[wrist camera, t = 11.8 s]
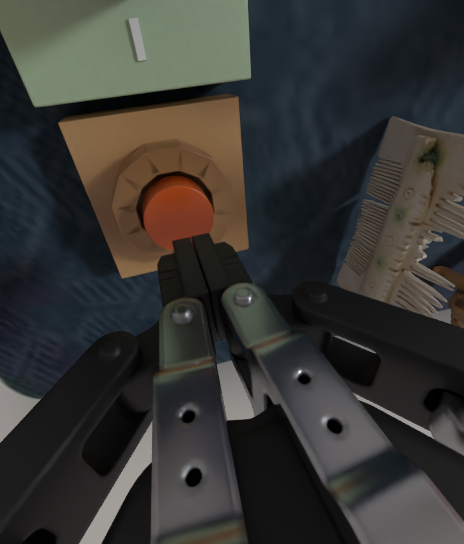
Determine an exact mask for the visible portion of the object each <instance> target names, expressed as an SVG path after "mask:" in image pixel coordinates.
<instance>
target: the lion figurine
mask: <svg viewBox="0 0 464 544" xmlns="http://www.w3.org/2000/svg"><path fill="white" fill-rule="evenodd" d="M432 271H434V272H436V273H437V274H439V275H442V276H443V278H445V279H446V280H448V281H449V282H451V283H452V284H454V285H455V287H457V288H458V289H457V291H456V292H455V293H454V295H453V296H452V297H451V298H450V299H449V307H450V308H451V311H452V314H451V324H452V325H455V326H458V327H461V328H464V276H463V275H461V274H459V273H457V272H455V271H453V270H451V269H449V268H447V267H444V266H436V267H434V268H433V269H432Z"/></svg>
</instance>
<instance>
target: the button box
mask: <svg viewBox="0 0 464 544" xmlns="http://www.w3.org/2000/svg"><path fill="white" fill-rule="evenodd" d="M58 124H59V127H60V129H61V132H62V134H63V136H64V139H65V141H66V144H67V146H68V149H69V151H70V153H71V156H72V158H73V161H74V163H75V166H76V168H77V170H78V173H79V175H80V178H81V180H82V183H83V185H84V188H85V190H86V192H87V195H88V197H89V200H90V202H91V205H92V207H93V209H94V212H95V214H96V217H97V219H98V222H99V224H100V227H101V229H102V231H103V234H104V236H105V239H106V241H107V244H108V246H109V248H110V251H111V253H112V256H113V258H114V261H115V263H116V265H117V268H118V270H119V273H120V275H121V278H127V277H131V276H135V275H139V274H144V273H148V272H152V271H156V270H158V268H157V264H158V262H159V260H160V258H161V256H164V255H168V254H172V253H175V252H174V250H169V249H165V248H163V247H161V246H159V245H158V244H156V243H155V242H154V241H153V240H152V239H151V238H150V237H149V235H148V234H147V232H146V229H145V226H144V220H143V208H142V205H143V199H144V196H145V193H146V192H147V190H148V189H149V187H150V186H151V185H152V184H153V183H155V182H156V181H158V180H159V179H162V178H164V177H168V176H183V177H186V178H189V179H191V180H193V181H194V182H196V183H197V184H198V185H199V186H200V187H201V188H202V190H203V191H204V193H205V195H206V196H207V198H208V200H209V202H210V203H211V205H212V208H213V212H214V223H213V227H212V229H211V231H210V233H209V234H210V236H211V238H212V240H213V242H214V244H216V243H220V242H226V243H227V244H229V245H231V246H232V247H233V248H234V250H235V252H237V251H241V250H245V249H249V246H248V231H247V217H246V202H245V188H244V173H243V159H242V144H241V130H240V116H239V101H238V97H237V96H233V95H230V94H221V95H214V96H207V97H200V98H192V99H185V100H178V101H171V102H164V103H157V104H150V105H143V106H136V107H128V108H121V109H114V110H107V111H100V112H93V113H86V114H79V115H71V116H66V117H65V118H64V119H62V120H61V121H60V122H58Z"/></svg>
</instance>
